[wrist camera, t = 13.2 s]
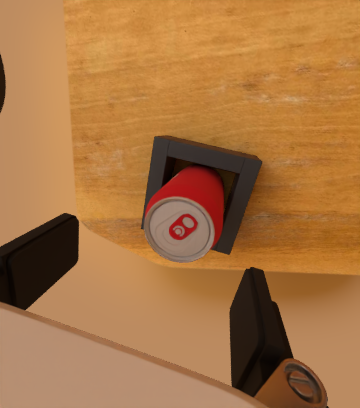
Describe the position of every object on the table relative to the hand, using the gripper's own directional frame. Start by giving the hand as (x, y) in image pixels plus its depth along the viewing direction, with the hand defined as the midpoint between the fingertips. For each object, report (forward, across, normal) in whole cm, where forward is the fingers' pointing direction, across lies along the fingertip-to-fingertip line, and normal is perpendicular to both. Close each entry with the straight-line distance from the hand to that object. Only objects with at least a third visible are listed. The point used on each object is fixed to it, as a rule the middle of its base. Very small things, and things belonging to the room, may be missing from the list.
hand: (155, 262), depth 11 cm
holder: (+16, -1, 0) cm, 16 cm away
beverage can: (+16, -1, 0) cm, 16 cm away
